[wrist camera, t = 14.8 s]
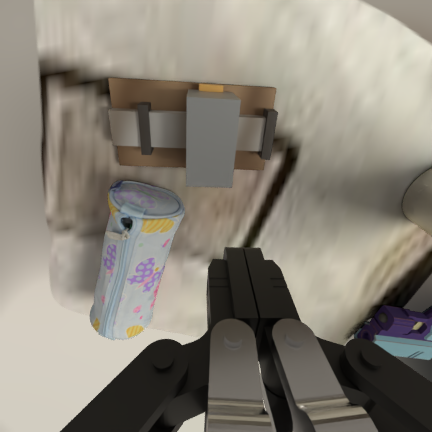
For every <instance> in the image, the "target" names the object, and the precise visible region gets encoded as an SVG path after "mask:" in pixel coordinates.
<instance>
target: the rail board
mask: <svg viewBox="0 0 432 432" xmlns="http://www.w3.org/2000/svg"><path fill="white" fill-rule="evenodd" d="M108 80H109V88H110V96H111V103H112V108H111V109H109V110H108V114H109V121H110V128H111V136H112V143H113V145H115V146H117V149H118V157H119V164H120V165H125V166H154V167H184V168H186V121H187V93H188V89H194V90H199V83H192V82H176V81H159V80H143V79H127V78H108ZM202 84H208V83H202ZM218 85H223V91H226V92H233V93H234V94H235V95H236V96H237V97H238V98H239V99H240V100H241V104H240V114H239V123H238V133H237V143H236V153H235V162H234V169H243V170H263V169H264V163H265V160H270V156H271V151H272V145H273V139H274V133H275V127H276V121H277V115H278V112H277V111H276V110H274V109H273V106H274V100H275V94H276V88H273V87H257V86H241V85H225V84H218Z"/></svg>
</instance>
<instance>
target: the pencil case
mask: <svg viewBox="0 0 432 432" xmlns="http://www.w3.org/2000/svg"><path fill="white" fill-rule="evenodd" d="M108 204H109V208H110V211H111V212H110V216H109V220H108V224H107V228H106V231H105V237H104V243H103V249H102V257H101V266H100V271H99V275H98V279H97V284H96V288H95V293H94V304H93V306H92V308H91V311H90V322H91V324H92V326H93V328H94V329H95V330H96V331H97V332H99V335H101V336H103V337H106V338H108V339H111V340H115V339H119V340H120V339H121V340H124V339H130V338H133V337H135V336H137V335H138V334H140V333H141V332H142V331H143V330H144V329H145V328H146V327H147V326H148V325H149V323H150V321H151V319H152V314H153V308H154V302H155V300H156V295H157V291H158V288H159V283H160V280H161V276H162V274H163V270H164V267H165V263H166V260H167V258H168V255H169V252H170V248H171V244H172V241H173V238H174V235H175V232H176V230H177V229H178V227H179V225H180V222H181V220H182V218H183V217H184V214H185V208H184V205H183V202H182V201H181V199H180V198H179V197H178V196H177V195H176V194H174V193H173V192H171V191H169V190H166V189H163V188H159V187H156V186H152V185H148V184H145V183H141V182H134V181H123V180H121V181H116V182H114V184H113V185H112V186H111V188H110V189H109V191H108Z"/></svg>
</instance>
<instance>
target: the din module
mask: <svg viewBox="0 0 432 432" xmlns="http://www.w3.org/2000/svg"><path fill="white" fill-rule="evenodd" d="M240 104H241V100H240V99H239V98H238V97H237V96H236V95H235V94H234V93H233V92H226V91H223V85H218V84H202V83H199V90H194V89H188V93H187V121H186V186H192V187H224V188H232V182H233V172H234V162H235V153H236V143H237V133H238V123H239V114H240Z"/></svg>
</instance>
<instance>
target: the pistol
mask: <svg viewBox="0 0 432 432" xmlns="http://www.w3.org/2000/svg"><path fill="white" fill-rule="evenodd" d="M355 338H361V339H366V340H369V341H371V342H373V343H375V344H377V345H379V346H380V347H381V348H383V349H384V350H386V351H387V352H389V353H390V354H392V355H393V356H400V357H408V358H418V359H426V360H430V359H431V358H432V306H431V307H429V308H428V309H426V310H425V311H423V312H422V313H420V312H415V311H410V310H409V309H404V308H399V307H392V306H386V305H383V306H382V307H381V308H380V309H379V310H378V312H377V313H376V314H375V318H372V319H371V321H370V322H369V321H366V322H364V324H363V325H362V326H361V327H360V328H359V329H358V330H357V331H356V332H355V333H354V339H355Z"/></svg>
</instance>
